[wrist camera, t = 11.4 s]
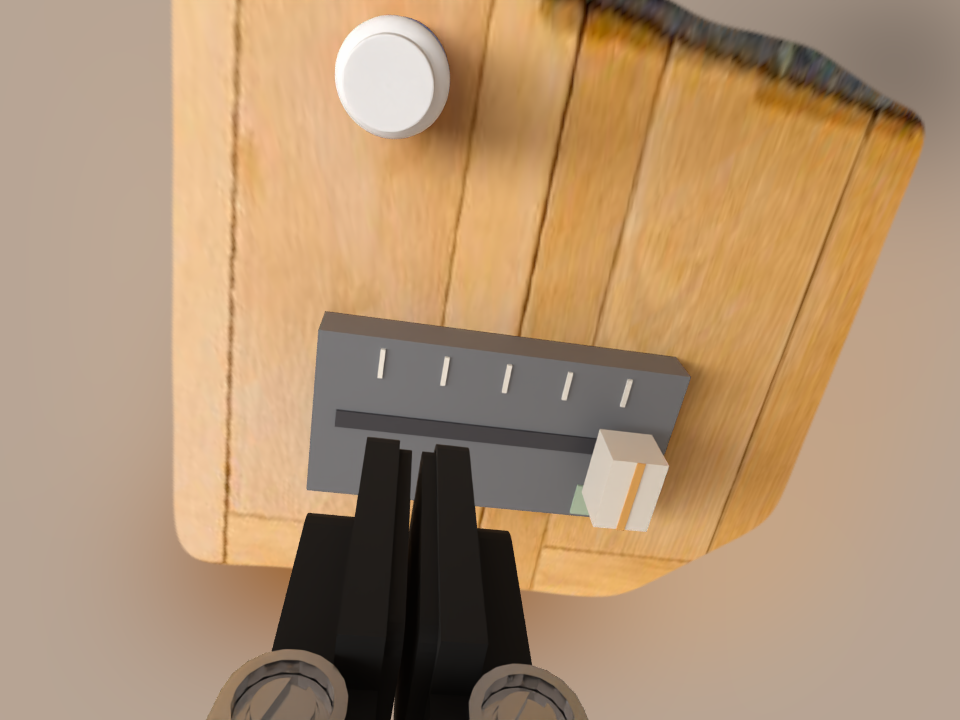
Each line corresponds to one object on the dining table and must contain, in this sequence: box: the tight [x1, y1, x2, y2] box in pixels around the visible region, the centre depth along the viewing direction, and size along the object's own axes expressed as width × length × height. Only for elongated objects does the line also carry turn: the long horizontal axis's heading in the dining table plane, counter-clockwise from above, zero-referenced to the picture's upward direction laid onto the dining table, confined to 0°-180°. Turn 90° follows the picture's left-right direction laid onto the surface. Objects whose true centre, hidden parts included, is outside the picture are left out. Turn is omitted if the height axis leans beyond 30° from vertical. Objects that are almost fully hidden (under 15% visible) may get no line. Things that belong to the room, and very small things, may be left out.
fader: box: [582, 429, 669, 532], centre depth 43 cm, size 5×4×5 cm
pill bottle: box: [335, 15, 450, 139], centre depth 33 cm, size 6×5×10 cm
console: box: [307, 311, 691, 517], centre depth 46 cm, size 12×24×3 cm, turn 80°
